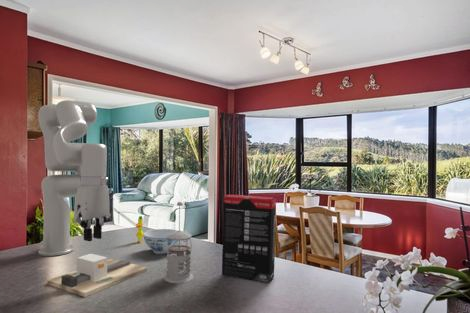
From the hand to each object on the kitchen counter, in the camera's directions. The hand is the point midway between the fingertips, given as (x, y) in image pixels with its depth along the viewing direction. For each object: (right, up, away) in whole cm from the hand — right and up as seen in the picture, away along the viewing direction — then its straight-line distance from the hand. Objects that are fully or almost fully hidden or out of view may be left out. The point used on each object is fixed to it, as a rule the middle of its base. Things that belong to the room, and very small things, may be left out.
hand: (92, 238), depth 101 cm
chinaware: (+15, -14, +32) cm, 38 cm away
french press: (+27, -14, +4) cm, 31 cm away
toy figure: (+1, -13, +45) cm, 47 cm away
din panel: (+1, -13, +3) cm, 14 cm away
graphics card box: (+50, -14, +4) cm, 52 cm away
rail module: (0, -12, 0) cm, 12 cm away
